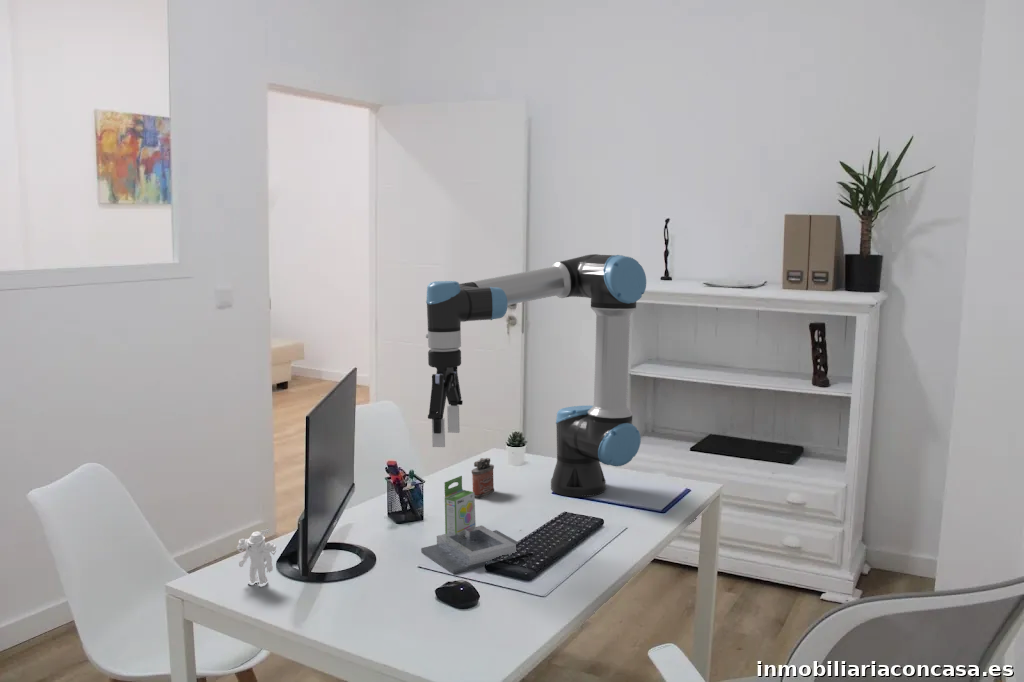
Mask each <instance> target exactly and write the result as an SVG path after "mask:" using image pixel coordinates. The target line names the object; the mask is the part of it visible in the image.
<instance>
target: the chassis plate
mask: <svg viewBox="0 0 1024 682" xmlns="http://www.w3.org/2000/svg"><path fill="white" fill-rule="evenodd" d="M518 543H520V542H519V541H517V540H515V539H513V538H511V537H510V536H509V535H506V534H504V533H503V532H501V531H499V530H497V529H495V530H490V529H489V528H488V527H485V526H484V525H478V526H476V527H473V528H469V529H465V536H464V537H462V538H460V539H458V534H456V533H455V532H452V533H447V534H445V533H443V534H440V535H436V544H433V545H428V546H424V547H421V548H420V551H421V553H422V554H423V555H424V556H425V557H428V558H429V559H430V560H432V561H434V562H435V563H436V564H438V565H440V567H442V568H443V569H445V570H446V571H448V572H449V573H451V574H452V575H455V574H460V573H463V572H467V571H470V570H474V569H479V568H483V567H486V566H485V563H486V562H488V561H490V560H492V559H494V558H496V557H499V556H502V555H506V554H511V553H515V552H517V551H516V544H518Z"/></svg>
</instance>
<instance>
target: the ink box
mask: <svg viewBox="0 0 1024 682" xmlns="http://www.w3.org/2000/svg"><path fill="white" fill-rule="evenodd" d="M454 483H457V485H455V486H452V487H450V486H451V485H453V484H454ZM475 500H476V499H475V494H474V492H473V491H470V490H466V489H463V476H462V475H460V476H457V477H455V478H452V479H449V480H447V481H445V482H444V529H445V530H444V531H445V532H444V534H447V533H452V532H455V533H456V534H458V539H462V538H465V529H469V528H473V527H477V526H476V525H477V524H476V504H475V503H476V501H475Z"/></svg>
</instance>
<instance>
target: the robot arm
mask: <svg viewBox="0 0 1024 682" xmlns="http://www.w3.org/2000/svg"><path fill="white" fill-rule="evenodd" d="M646 288H647V276H646V272H645V270H644V268H643V266H642V265H641V264H640V262H639V261H637V260H636V259H635V258H633V257H631V256H625V255H622V254H621V255H620V254H611V255H610V254H598V253H597V254H586V255H583V256H582V255H581V256H578V257H574V258H570V259H566V260H560V261H556V262H554V263H553V264H551V266H550V267H545V268H539V269H534V270H529V271H523V272H517V273H513V274H507V275H501V276H495V277H491V278H484V279H480V280H479V279H477V280H474V281H470V282H463V283H459V282H458V281H455V280H453V281H452V280H445V281H444V280H439V281H438V280H437V281H431V282H430V283H428V285H427V287H426V301H425V302H426V311H427V312H426V313H427V314H426V316H427V334H426V335H425V338H426V339H428V340H427V346H428V348H429V350H428V351H427V355H428V356H427V359H428V366H429V367H431V368H436V373H433V374H431V375H432V376H431V391H430V392H431V393H430V402H429V410H428V414H427V418H428V420H431V433H432V435H431V437H432V441H431V442H432V448H445V447H446V431H445V430H446V428H445V426H446V424H445V417H444V414H445V413H444V412H445V407H447V410H446V411H447V433H452V434H453V433H454V434H459V433H460V432H461V431H460V406H462V405H463V401H464V400H462V395H461V394H462V393H461V388H460V382H459V374H458V373H459V372H458V368H459V366H461V365H462V350H461V349H460V348H461V347H462V335H461V333H462V331H461V323H464V322H473V321H474V322H475V321H488V320H490V321H492V320H498V319H501V318H503V317H505V315H506V314H507V311H508V309H509V308H508V306H509V305H515V304H520V303H526V302H530V301H531V302H532V301H535V300H540V299H546V298H551V297H557V298H559V299H564V298H570V297H572V298H575V297H576V298H586V299H587V298H588V299H590V309H591V310H592V311H593V312H594V313H595V316H596V318H595V321H596V322H595V323H596V324H595V351H594V352H595V353H594V354H595V355H594V381H593V382H594V386H593V387H594V388H593V405H574V406H573V405H572V406H566V407H562V408H560V409H559V410H558V411H557V413H556V419H555V420H556V421H555V424H556V464H555V467H554V469H553V470H554V471H553V474H552V477H551V479H550V489H551V491H552V492H553V493H554V494H557V495H561V496H566V497H581V498H583V497H590V496H591V497H594V496H597V495H600V494H602V493H604V492H605V491H606V485H607V482H606V478H605V475H604V471H603V468H602V466H601V464H602V465H605V466H606V465H607V466H612V467H622V466H625V465H627V464H629V463H631V461H632V460H633V458H634V457H636V455H637V454H638V452H639V450H640V447H641V441H642V437H641V432H640V430H638V428H637V427H636V426H635V425H634V424H633V411H632V410H630V409H629V407H628V381H629V379H628V378H629V353H630V352H629V349H630V326H631V325H630V324H631V323H630V322H631V320H630V318H631V314H632V313H634V311H636V309H637V302H638V301H639V300H640V299H641V298H642V297H643V296H642V295H643V294H645V292H646ZM446 400H447V403H448V405H447V406H446Z"/></svg>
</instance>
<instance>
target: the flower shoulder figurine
mask: <svg viewBox="0 0 1024 682" xmlns="http://www.w3.org/2000/svg"><path fill="white" fill-rule="evenodd" d="M270 530H271V528H267V529H263V530H262V529H261V530H260V531H253V532H252V533H251V535H250V536H249V538H245V537H243V538H239V540H238V545H237V546H236V550H237V551H238V552H239V553H243V551H244V549H245V551H244V552H245V553H244V554H243V556H242V557H241V559H240V560H239V562H238V566H239V567H240V568H242V567H244V564H245V563H247V561H248V559H250V566H249V581H248V582H250V583H254V582H255V581H259V584H263V583H266V582H267V581H268V582H269V580H268V577H267V576H266V573H271V572H272V571H273V569H274V567H273V563H272V562H273V558H272V555H273V556H274V555H275V554H276V552H277V545H275V543H274V542H270V541H267V542H266V541H265V540H266V537H265V535H266V534H269V533H270ZM241 549H242V550H241ZM271 554H272V555H271ZM265 562H266V563H265ZM257 573H258V574H257Z"/></svg>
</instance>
